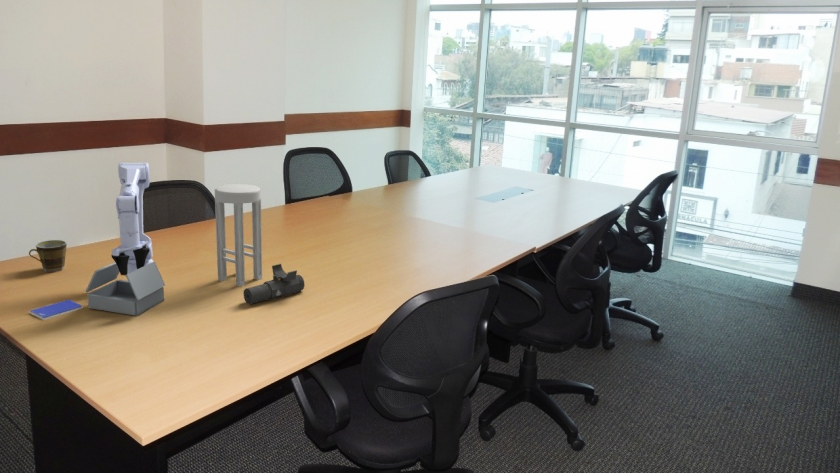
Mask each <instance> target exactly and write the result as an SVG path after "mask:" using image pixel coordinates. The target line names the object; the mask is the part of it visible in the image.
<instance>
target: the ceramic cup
mask: <svg viewBox="0 0 840 473" xmlns="http://www.w3.org/2000/svg"><path fill="white" fill-rule="evenodd" d="M32 252H36V253H37V254H38V256H39V259H38V258H37V257H36V256H33V255H32V254H31V253H32ZM66 253H67V241H65V240H63V239H62V240H61V239H52V240H51V239H49V240H44V241H40V242H37V243H36V244H35V248H31V249H30V250H29V251H28V255H29V256H30V257H31V258H33V259H35V260H37V262H39V263H41V266H42V270H43V271H44V272H46V273H56V272H61V271H62V270H64V269H65V267H66V266H65V264H66V256H67V255H66Z"/></svg>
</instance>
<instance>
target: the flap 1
mask: <svg viewBox="0 0 840 473" xmlns="http://www.w3.org/2000/svg"><path fill="white" fill-rule="evenodd" d="M119 275H120V271H119V269H118V266H117V264H116V262H115V261H114V262H112V263H110V264H108V265H105V266H102V267H100V268H99V269H97V270H95V271H94V272H93V274H92V276H91V278H90V280H89V283H88V285H87V287H86V288H85V292H86V293H90V292H92V291H94V290H96V289H99V288H101V287H103V285H104V286H105V285H107V284H109V283H111V282H114V281H116V280H117V279H118V278H117V277H118V276H119Z"/></svg>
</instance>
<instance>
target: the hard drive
mask: <svg viewBox="0 0 840 473" xmlns="http://www.w3.org/2000/svg"><path fill="white" fill-rule="evenodd" d="M77 309H78V310H81V309H83V306H82V305H81V304H80V303H77V302H76V301H73V300H71V299H66V300H63V301H60V302H56V303H52V304H48V305H45V306H40V307H38V308H33V309H31V310H30V309H29V314H31V315H33V316H34V317H37V318H38V319H40V320H42V321H45V320H48V319H52V318H54V317H57V316H61V315H64V314H67V313H71V312H74V311H77Z"/></svg>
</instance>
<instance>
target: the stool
mask: <svg viewBox="0 0 840 473" xmlns="http://www.w3.org/2000/svg"><path fill="white" fill-rule="evenodd" d="M261 190H262V189H261V188H260V187H259V186H257V185H253V184H250V183H249V184H246V183H233V184H232V183H230V184H228V183H227V184H223V185H218V186H217V187H215V189H214V202H215V203H214V207H215V208H214V209H215V210H214V211H215V236H216V258H217V259H216V260H217V261H216V262H217V263H216V264H217V281H220V282H224V281H227V279H228V275H227V274H228V272H227V262H228V263H232V264H234V265H235V286H236V287H244V286H246V275H245V271H246V270H245V269H246V268H245V257H250V258H252V259H253V260H252V261H253V262H252V264H253V265H252V268H253V269H252V270H253V273H252V274H253V279H254V280H256V281H259V280H261V279H263V252H262V251H263V248H262V247H263V244H262V242H263V241H262V193H261ZM225 204H232V205H233V225H234V226H233V228H234V230H233V232H234V234H233V235H234V250H231V249H227V245H226V244H227V242H226V240H227V238H226V215H225V212H226V211H225ZM244 204H251V216H252V221H251V222H252V224H251V225H252V245H251V244H247V243H245V236H244V235H245V234H244V233H245V232H244ZM245 249H248V250H251V251H252V252H248V251H246V250H245ZM227 254H228V255H232V256H234V258H231V257H227Z"/></svg>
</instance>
